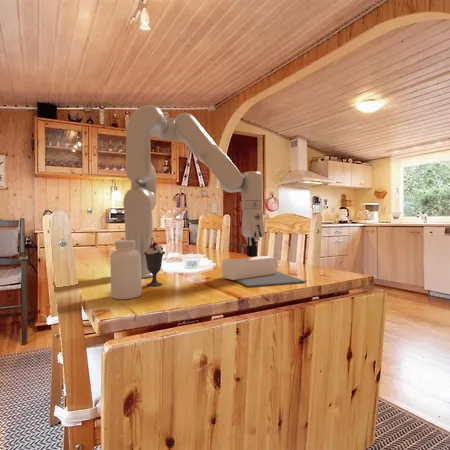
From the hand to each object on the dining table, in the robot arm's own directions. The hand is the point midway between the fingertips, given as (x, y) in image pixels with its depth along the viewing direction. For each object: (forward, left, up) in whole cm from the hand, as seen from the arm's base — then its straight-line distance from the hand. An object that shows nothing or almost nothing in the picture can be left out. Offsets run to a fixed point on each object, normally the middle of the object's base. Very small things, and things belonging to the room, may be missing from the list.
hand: (251, 256), depth 122 cm
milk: (-12, -8, -3) cm, 15 cm away
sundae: (-36, -7, -7) cm, 37 cm away
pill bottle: (-45, -19, -7) cm, 49 cm away
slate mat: (0, -10, -7) cm, 12 cm away
